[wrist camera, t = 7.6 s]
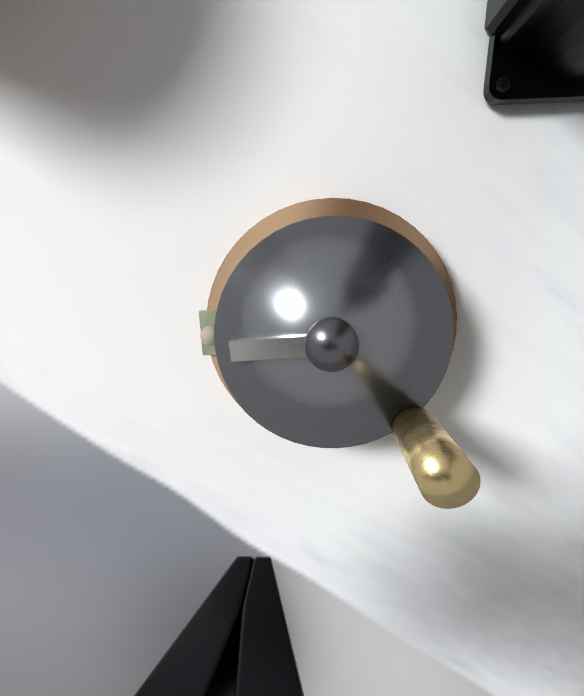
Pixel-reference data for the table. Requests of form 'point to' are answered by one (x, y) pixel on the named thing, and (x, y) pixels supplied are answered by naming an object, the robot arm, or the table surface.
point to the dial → (344, 345)
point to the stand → (298, 214)
